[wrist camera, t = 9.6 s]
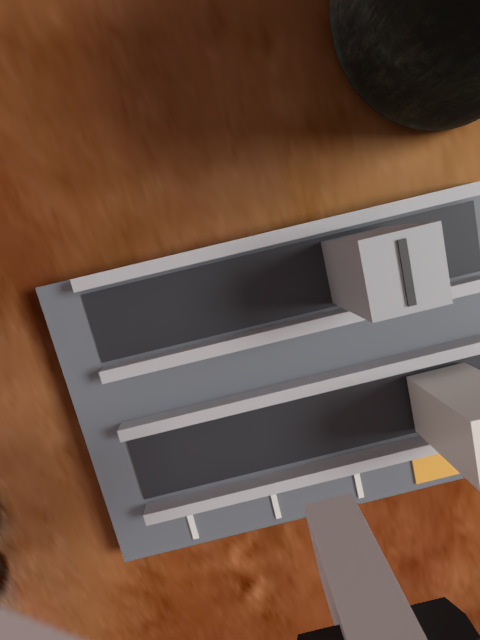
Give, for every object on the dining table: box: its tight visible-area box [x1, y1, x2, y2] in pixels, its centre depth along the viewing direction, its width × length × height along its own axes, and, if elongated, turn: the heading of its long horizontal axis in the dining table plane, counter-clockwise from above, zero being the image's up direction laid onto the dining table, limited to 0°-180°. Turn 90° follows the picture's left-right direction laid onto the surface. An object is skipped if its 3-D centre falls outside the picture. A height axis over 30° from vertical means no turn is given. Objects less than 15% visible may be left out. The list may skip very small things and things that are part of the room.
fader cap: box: [406, 363, 480, 491], centre depth 19 cm, size 3×3×6 cm
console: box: [35, 181, 480, 562], centre depth 19 cm, size 15×22×7 cm
